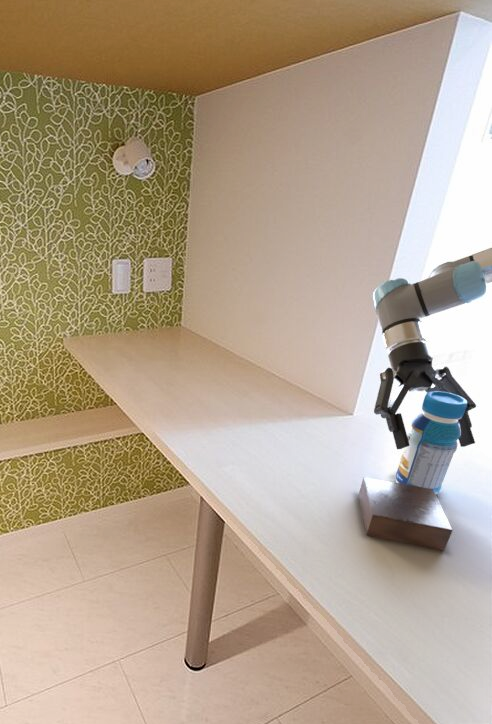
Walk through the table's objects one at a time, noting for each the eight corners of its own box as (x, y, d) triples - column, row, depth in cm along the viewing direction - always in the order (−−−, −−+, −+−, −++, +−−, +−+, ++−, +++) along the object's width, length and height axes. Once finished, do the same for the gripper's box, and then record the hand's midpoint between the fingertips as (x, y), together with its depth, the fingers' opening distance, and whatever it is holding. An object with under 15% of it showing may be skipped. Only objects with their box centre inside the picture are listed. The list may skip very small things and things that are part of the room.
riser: (426, 508, 83) (433, 489, 81) (444, 551, 73) (452, 530, 71) (358, 495, 87) (363, 477, 85) (366, 535, 76) (372, 514, 74)
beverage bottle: (422, 501, 85) (455, 409, 77) (384, 479, 92) (411, 392, 83) (449, 491, 88) (484, 402, 80) (410, 470, 95) (438, 386, 87)
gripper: (448, 355, 96) (478, 448, 89) (342, 357, 94) (364, 453, 87) (476, 339, 89) (511, 438, 82) (361, 340, 87) (387, 443, 80)
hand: (435, 446), depth 84 cm, fingers open, 13 cm apart
